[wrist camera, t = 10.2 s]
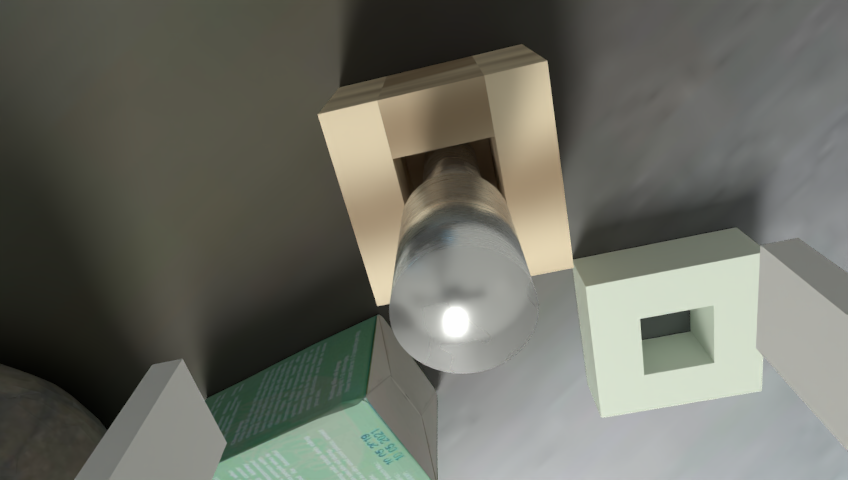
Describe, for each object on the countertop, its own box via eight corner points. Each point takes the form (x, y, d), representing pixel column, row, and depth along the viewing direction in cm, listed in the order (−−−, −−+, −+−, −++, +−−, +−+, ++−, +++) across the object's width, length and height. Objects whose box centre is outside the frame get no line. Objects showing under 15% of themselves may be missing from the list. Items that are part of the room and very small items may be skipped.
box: (199, 398, 35) (147, 497, 29) (377, 307, 32) (366, 394, 26) (269, 469, 38) (237, 575, 31) (439, 391, 35) (444, 489, 28)
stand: (571, 259, 31) (585, 286, 28) (736, 227, 30) (767, 251, 27) (587, 383, 35) (601, 418, 32) (734, 357, 34) (761, 390, 31)
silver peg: (401, 130, 27) (371, 263, 14) (482, 112, 26) (526, 232, 14) (420, 205, 28) (409, 384, 16) (496, 189, 28) (548, 360, 15)
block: (339, 87, 27) (317, 114, 22) (521, 44, 26) (547, 60, 21) (385, 248, 31) (377, 306, 25) (546, 215, 30) (573, 267, 24)
